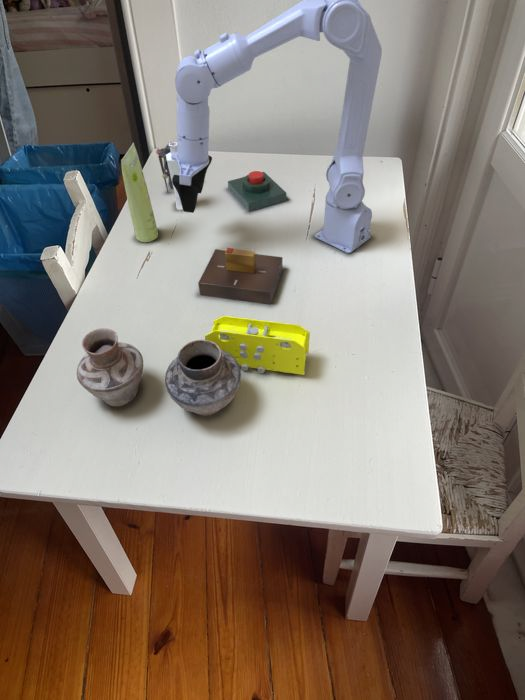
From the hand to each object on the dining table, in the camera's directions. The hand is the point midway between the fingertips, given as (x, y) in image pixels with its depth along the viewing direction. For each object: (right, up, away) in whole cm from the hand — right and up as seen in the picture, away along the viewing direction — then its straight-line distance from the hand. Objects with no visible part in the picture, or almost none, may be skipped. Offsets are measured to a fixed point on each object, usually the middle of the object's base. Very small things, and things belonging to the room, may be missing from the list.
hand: (192, 201), depth 98 cm
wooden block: (+10, -14, -4) cm, 18 cm away
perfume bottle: (-5, +5, +19) cm, 20 cm away
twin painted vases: (-1, -38, -21) cm, 43 cm away
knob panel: (+10, -16, -2) cm, 19 cm away
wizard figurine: (-8, +11, +25) cm, 28 cm away
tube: (-12, -5, +10) cm, 16 cm away
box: (+13, +8, +21) cm, 26 cm away
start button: (+13, +10, +18) cm, 25 cm away
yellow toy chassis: (+13, -32, -16) cm, 38 cm away
